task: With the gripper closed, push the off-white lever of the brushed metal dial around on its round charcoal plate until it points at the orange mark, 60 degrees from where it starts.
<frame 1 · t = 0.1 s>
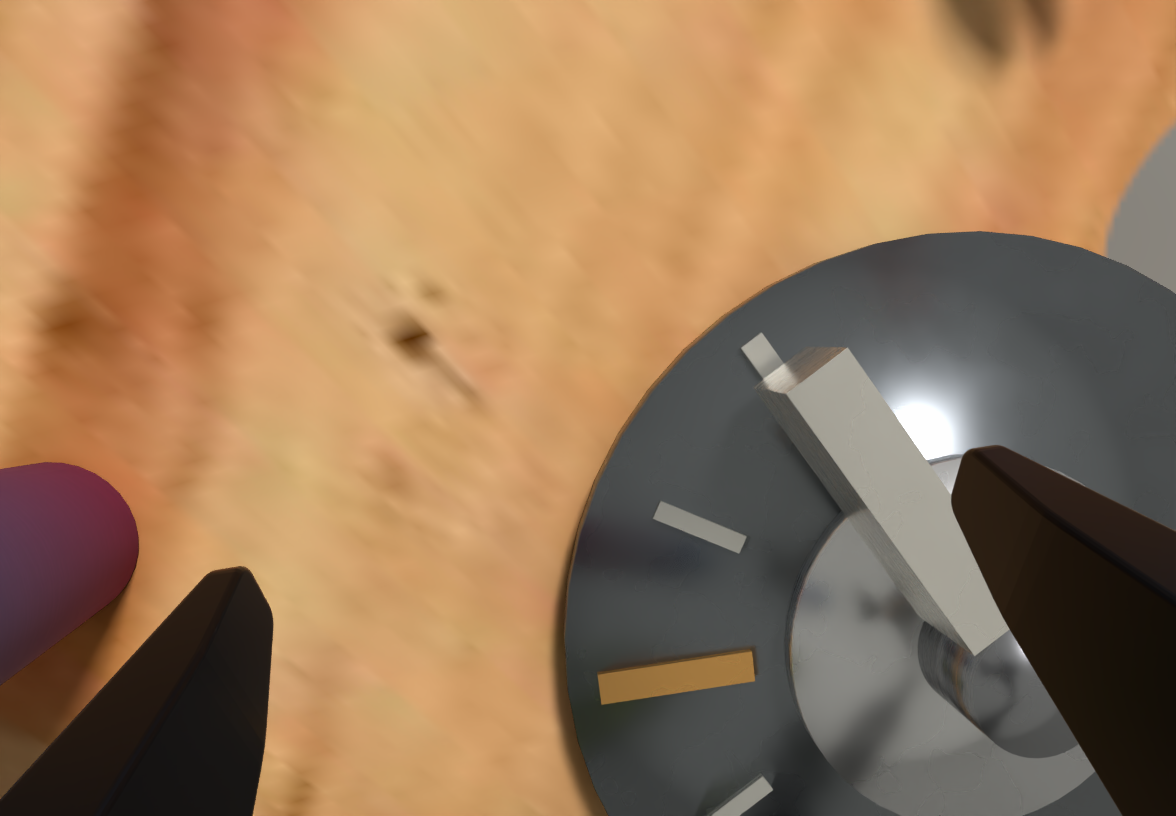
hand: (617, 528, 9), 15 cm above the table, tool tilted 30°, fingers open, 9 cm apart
dial plate: (942, 621, 26), on the table
dial: (954, 596, 22), point 3 cm above the table, hinge at 0.0°
cup: (59, 539, 24), on the table
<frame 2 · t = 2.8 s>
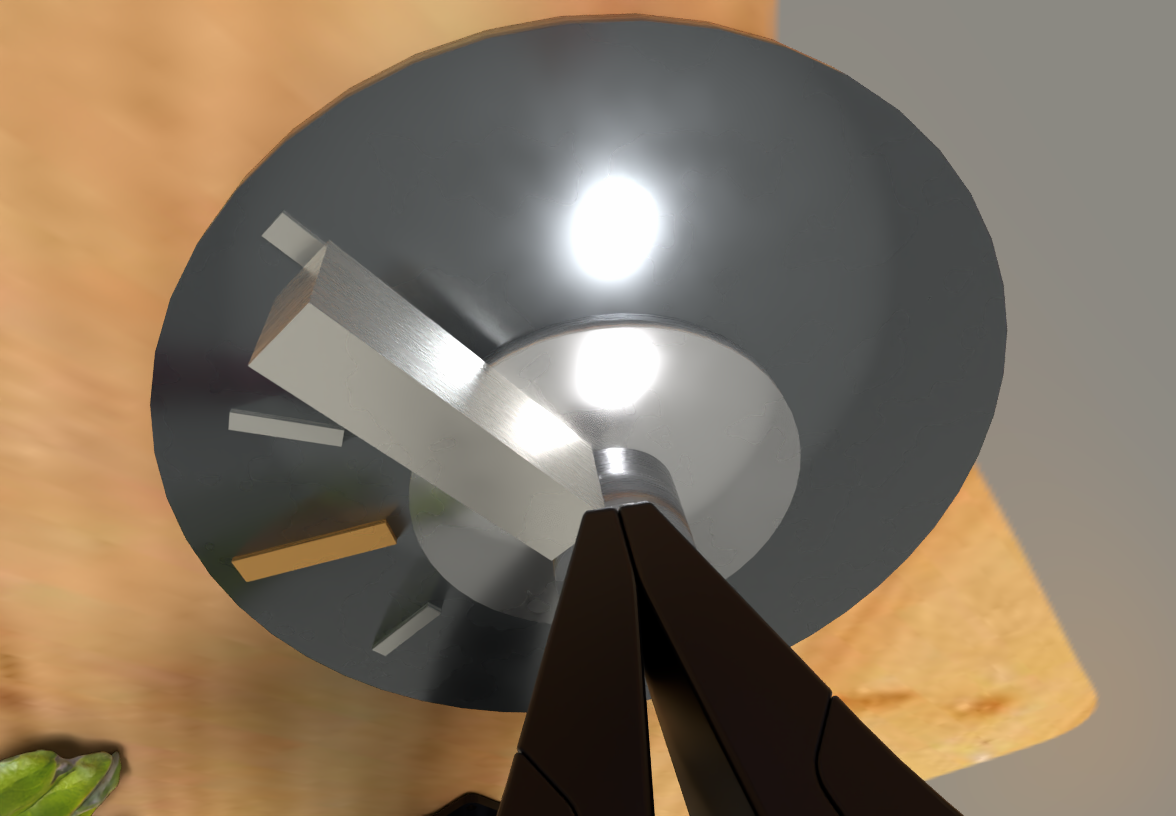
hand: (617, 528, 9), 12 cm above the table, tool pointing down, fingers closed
dial plate: (599, 455, 25), on the table
dial: (558, 482, 21), point 3 cm above the table, hinge at 0.0°
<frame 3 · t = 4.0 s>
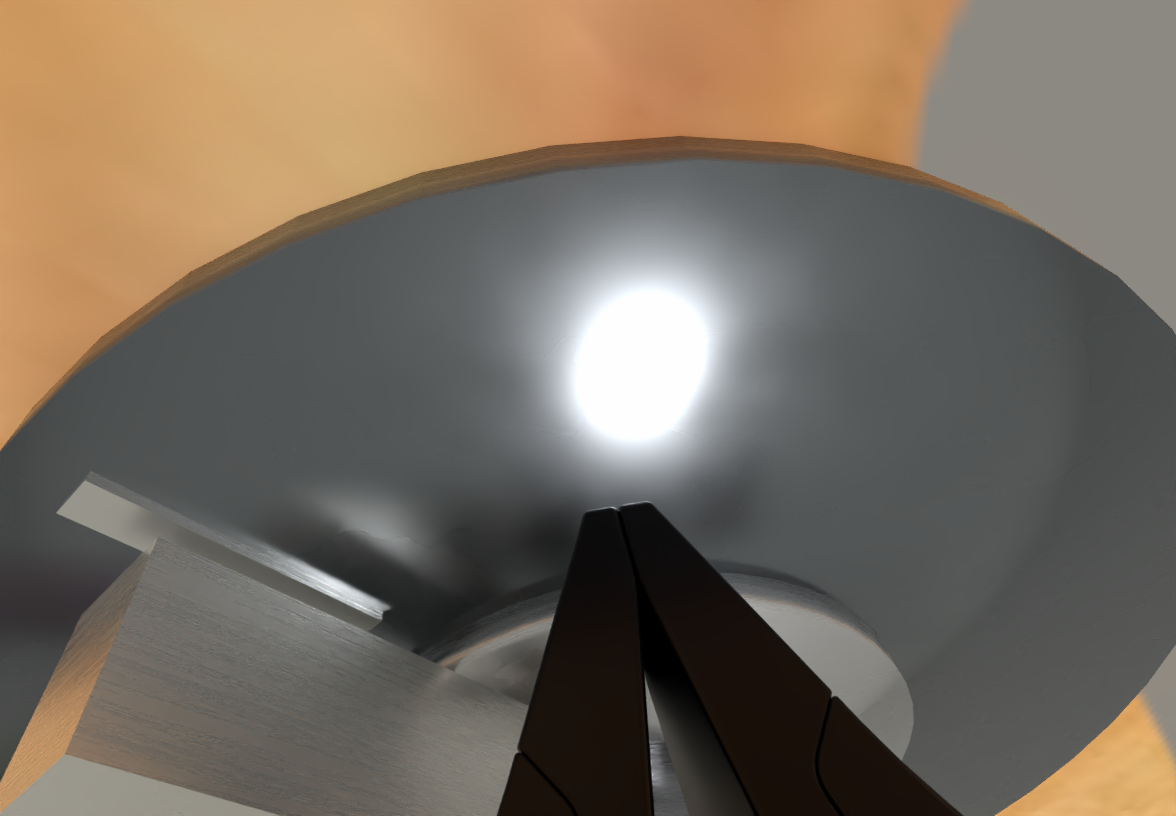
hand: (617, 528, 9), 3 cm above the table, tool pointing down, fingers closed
dial plate: (619, 703, 18), on the table
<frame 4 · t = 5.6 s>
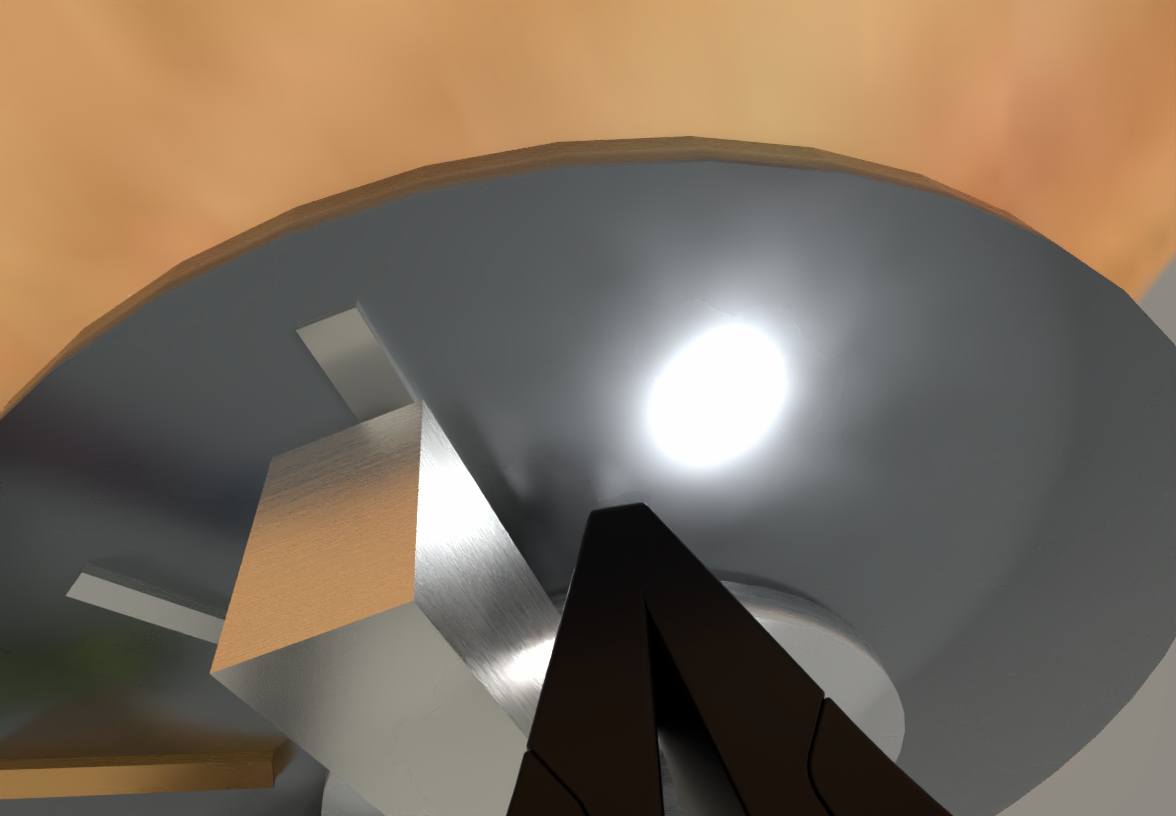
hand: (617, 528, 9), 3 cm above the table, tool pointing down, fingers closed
dial plate: (607, 711, 17), on the table
dial: (592, 808, 13), point 3 cm above the table, hinge at 0.9°, touching gripper
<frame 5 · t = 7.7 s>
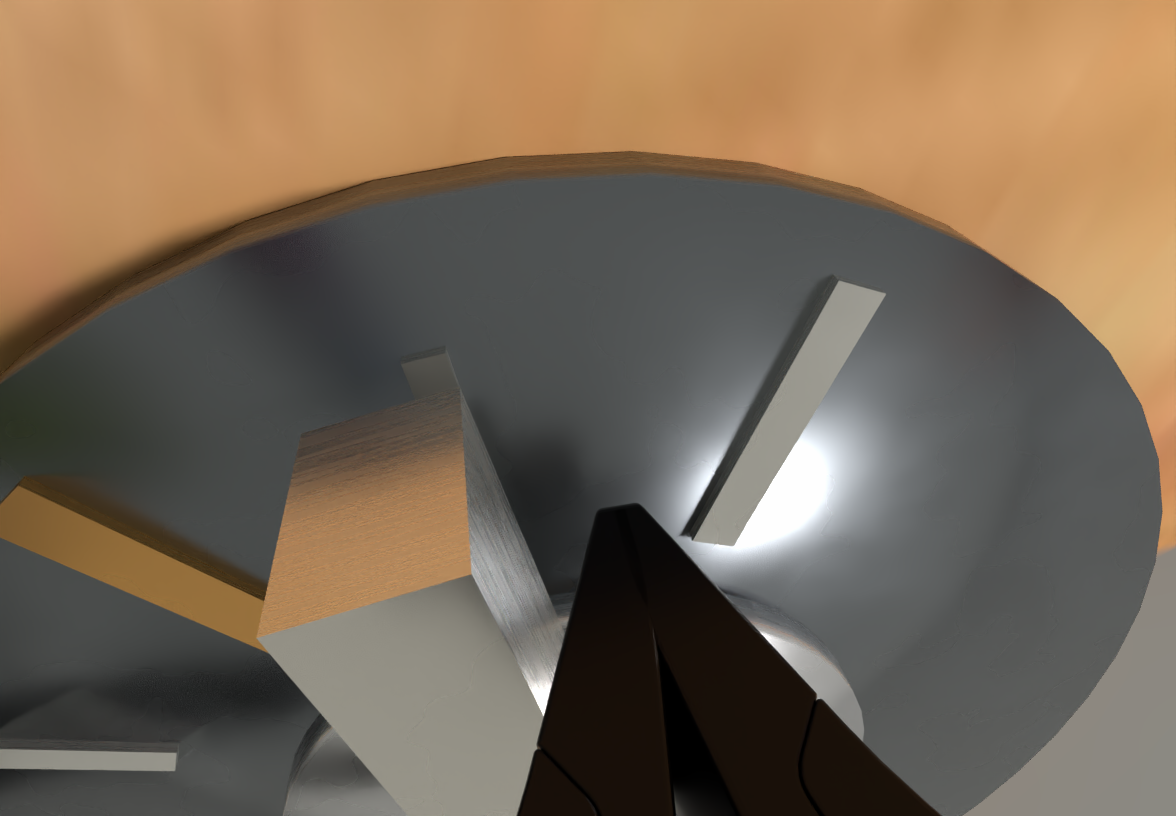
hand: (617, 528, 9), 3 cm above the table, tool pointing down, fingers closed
dial plate: (572, 719, 17), on the table
dial: (566, 811, 13), point 3 cm above the table, hinge at 32.8°, touching gripper
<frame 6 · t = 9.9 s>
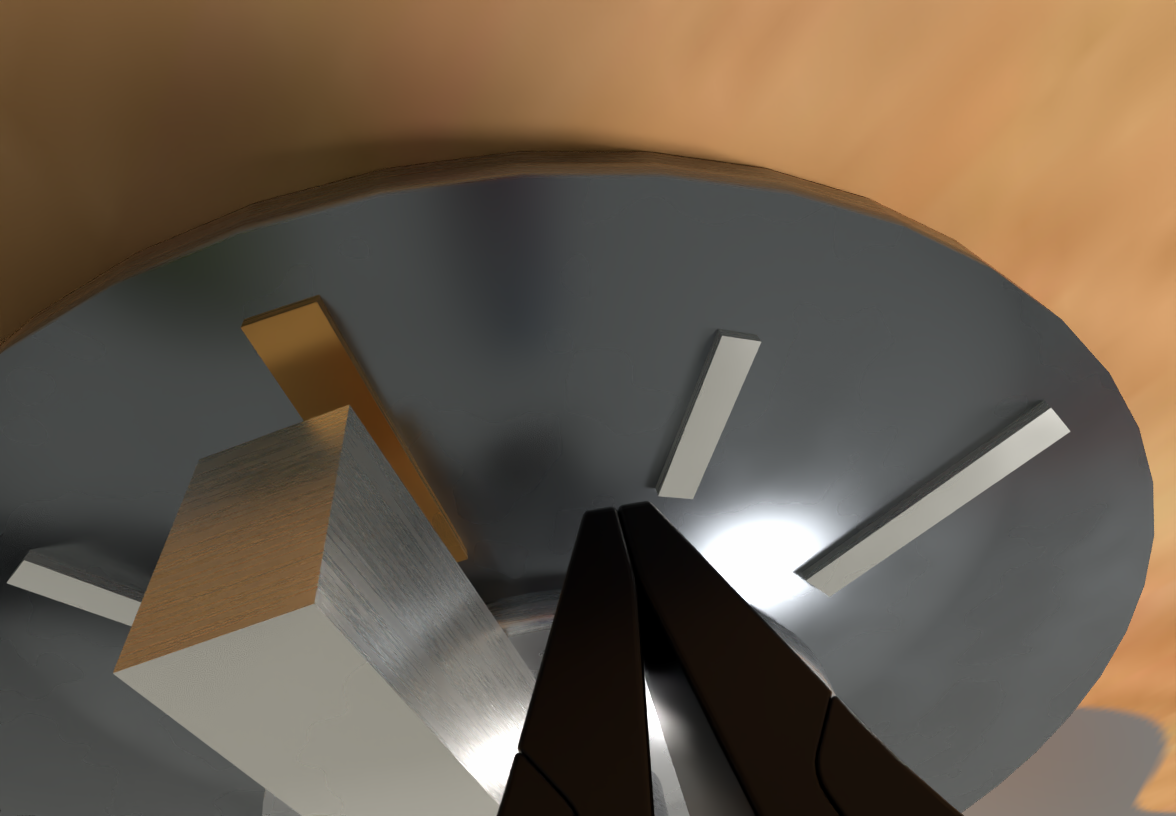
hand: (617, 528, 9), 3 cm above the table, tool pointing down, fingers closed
dial plate: (557, 715, 17), on the table
dial: (531, 812, 13), point 3 cm above the table, hinge at 62.4°
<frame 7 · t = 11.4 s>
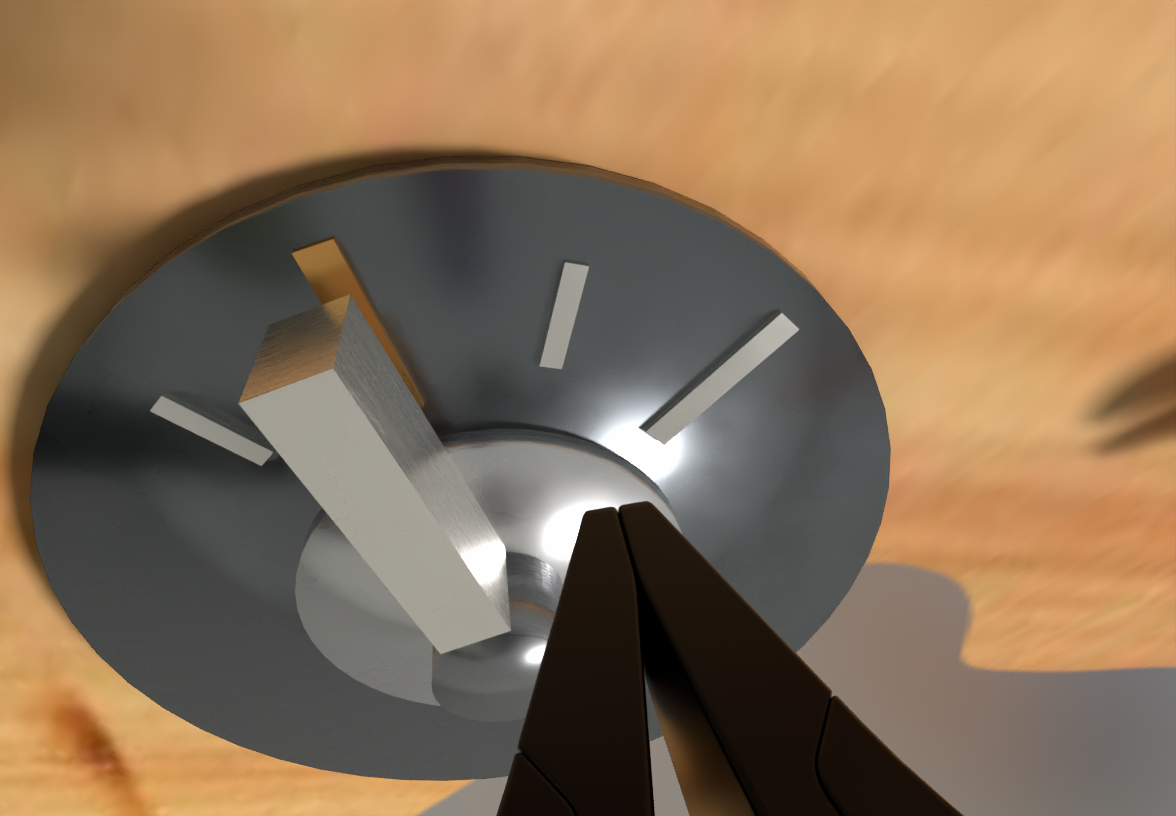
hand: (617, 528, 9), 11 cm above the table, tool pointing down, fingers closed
dial plate: (496, 546, 25), on the table
dial: (466, 575, 21), point 3 cm above the table, hinge at 62.4°
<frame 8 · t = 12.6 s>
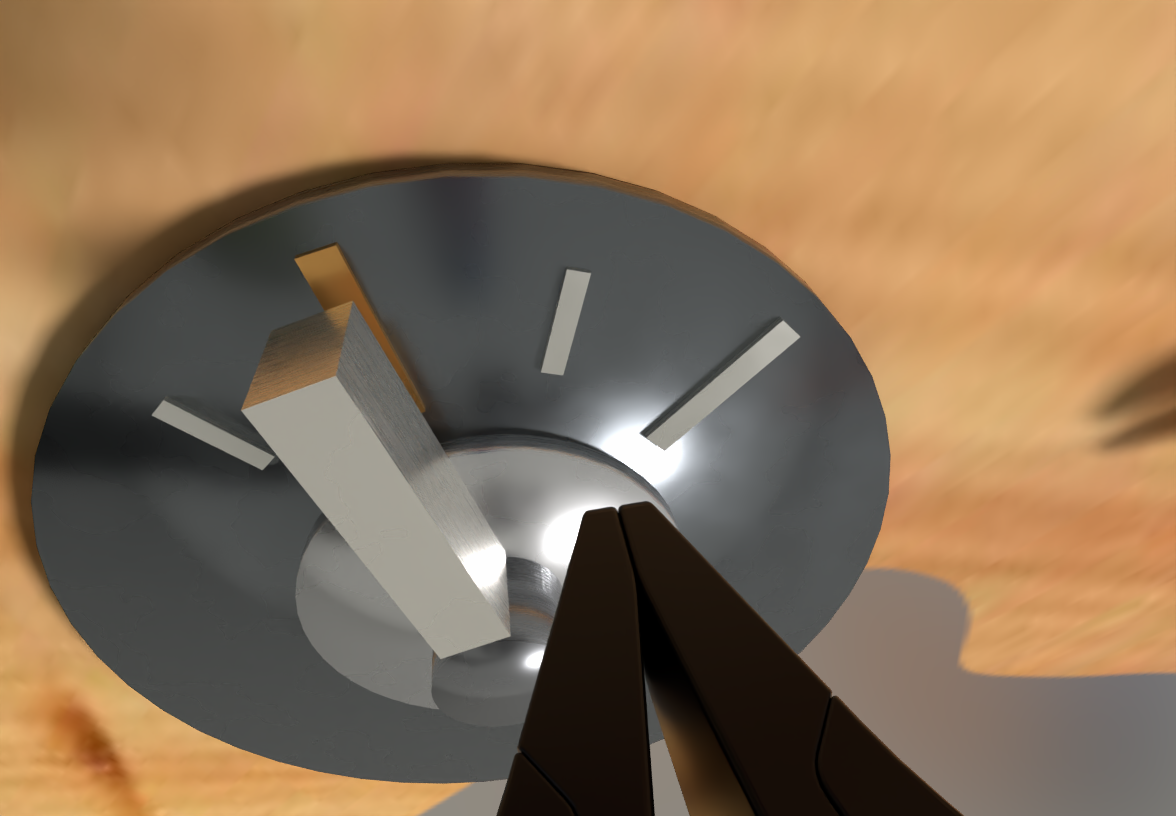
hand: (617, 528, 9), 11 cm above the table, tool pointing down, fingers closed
dial plate: (496, 550, 25), on the table
dial: (467, 580, 21), point 3 cm above the table, hinge at 62.4°
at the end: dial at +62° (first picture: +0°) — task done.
